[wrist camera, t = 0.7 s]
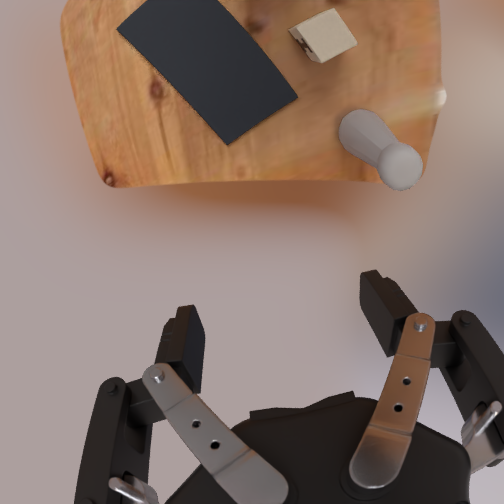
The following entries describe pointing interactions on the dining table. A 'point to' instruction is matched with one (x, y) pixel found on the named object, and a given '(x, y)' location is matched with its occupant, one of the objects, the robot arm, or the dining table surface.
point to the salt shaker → (380, 149)
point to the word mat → (209, 62)
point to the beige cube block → (323, 36)
